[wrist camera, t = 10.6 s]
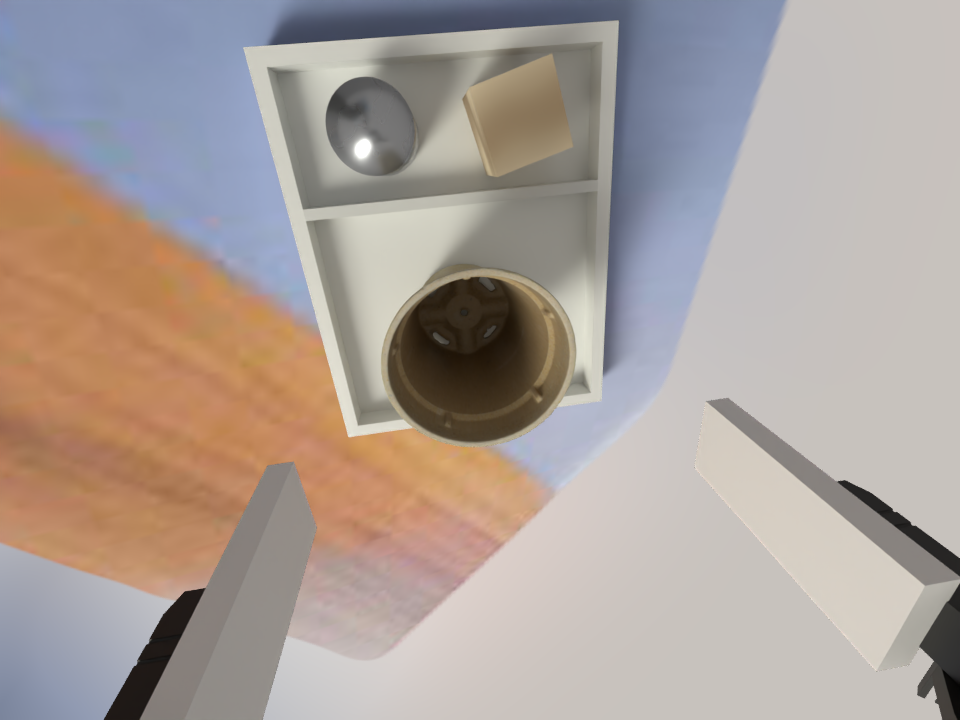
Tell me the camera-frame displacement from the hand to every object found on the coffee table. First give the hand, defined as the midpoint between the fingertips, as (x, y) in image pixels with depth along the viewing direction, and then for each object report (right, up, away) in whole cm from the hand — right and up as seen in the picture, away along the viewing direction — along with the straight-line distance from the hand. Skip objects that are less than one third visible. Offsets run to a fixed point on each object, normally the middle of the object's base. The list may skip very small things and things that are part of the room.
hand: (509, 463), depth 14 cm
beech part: (+1, +17, +10) cm, 19 cm away
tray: (-2, +10, +13) cm, 17 cm away
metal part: (-6, +16, +9) cm, 19 cm away
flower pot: (-2, +7, +14) cm, 16 cm away
